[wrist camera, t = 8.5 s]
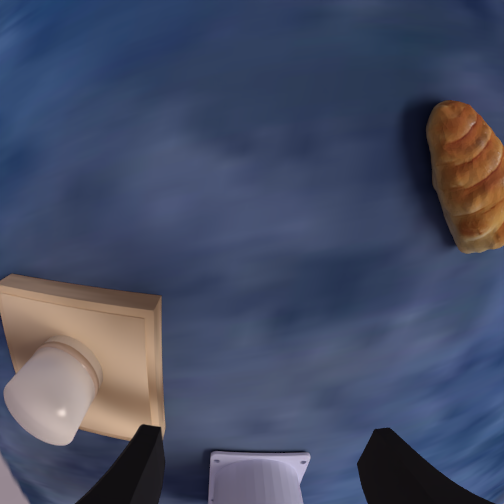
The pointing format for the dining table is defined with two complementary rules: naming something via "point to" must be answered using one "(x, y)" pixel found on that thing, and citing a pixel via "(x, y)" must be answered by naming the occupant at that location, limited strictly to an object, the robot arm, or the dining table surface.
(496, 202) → the pastry
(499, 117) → the dining table surface
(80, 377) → the pot
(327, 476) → the dining table surface
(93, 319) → the base board
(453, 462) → the dining table surface
